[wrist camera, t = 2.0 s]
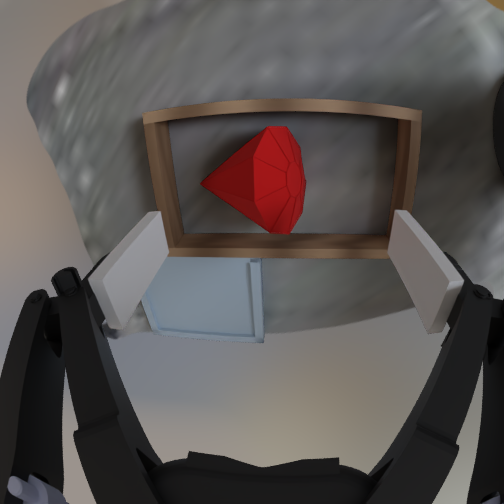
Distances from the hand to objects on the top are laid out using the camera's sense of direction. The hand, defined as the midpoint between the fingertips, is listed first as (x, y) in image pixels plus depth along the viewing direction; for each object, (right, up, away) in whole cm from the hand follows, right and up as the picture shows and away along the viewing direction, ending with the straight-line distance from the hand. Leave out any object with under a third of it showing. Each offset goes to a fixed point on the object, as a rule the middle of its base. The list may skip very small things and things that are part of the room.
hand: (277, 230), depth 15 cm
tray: (-8, -6, +18) cm, 21 cm away
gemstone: (-1, +6, +11) cm, 12 cm away
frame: (+2, +6, +10) cm, 12 cm away
